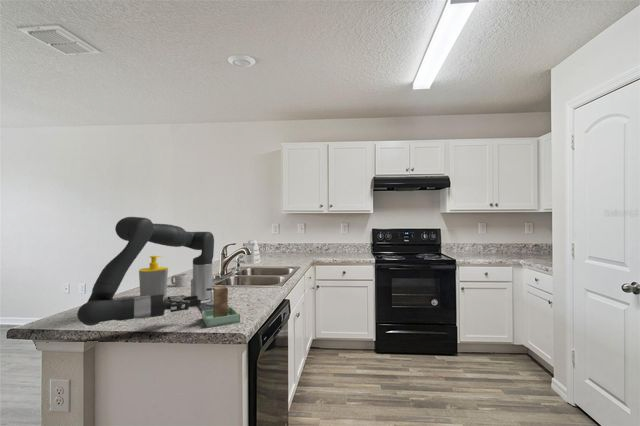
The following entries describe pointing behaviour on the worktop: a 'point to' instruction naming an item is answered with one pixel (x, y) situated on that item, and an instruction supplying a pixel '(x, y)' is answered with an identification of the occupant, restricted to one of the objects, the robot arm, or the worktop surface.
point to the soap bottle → (153, 279)
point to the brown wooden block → (220, 301)
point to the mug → (179, 280)
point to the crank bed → (208, 304)
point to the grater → (253, 254)
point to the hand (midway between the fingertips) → (198, 300)
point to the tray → (220, 318)
